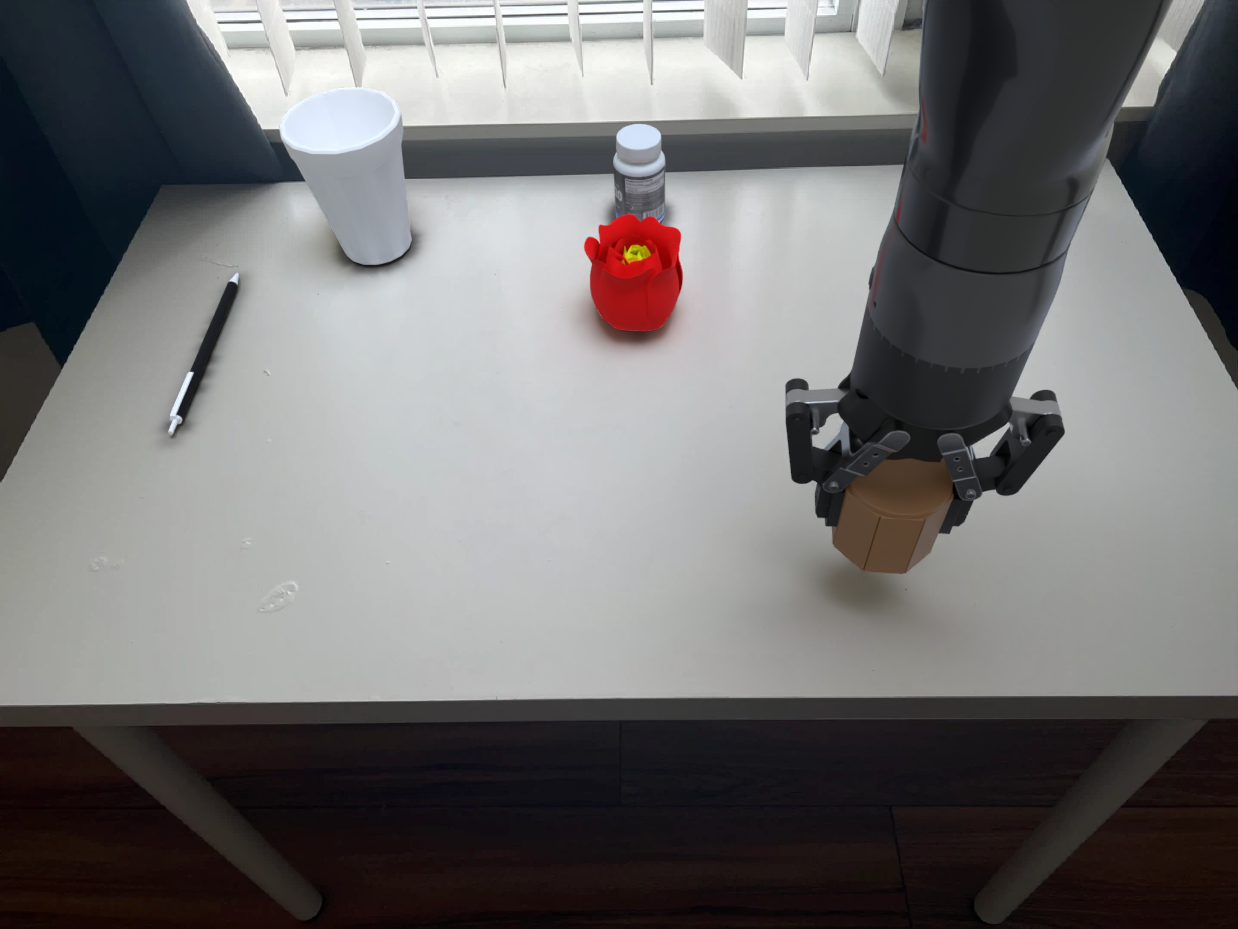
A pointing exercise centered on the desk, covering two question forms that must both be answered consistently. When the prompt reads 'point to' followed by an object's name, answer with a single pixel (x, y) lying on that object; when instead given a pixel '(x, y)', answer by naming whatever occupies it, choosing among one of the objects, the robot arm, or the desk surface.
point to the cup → (354, 168)
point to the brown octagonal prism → (893, 515)
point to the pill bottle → (639, 172)
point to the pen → (202, 355)
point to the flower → (635, 272)
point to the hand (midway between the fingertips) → (885, 517)
